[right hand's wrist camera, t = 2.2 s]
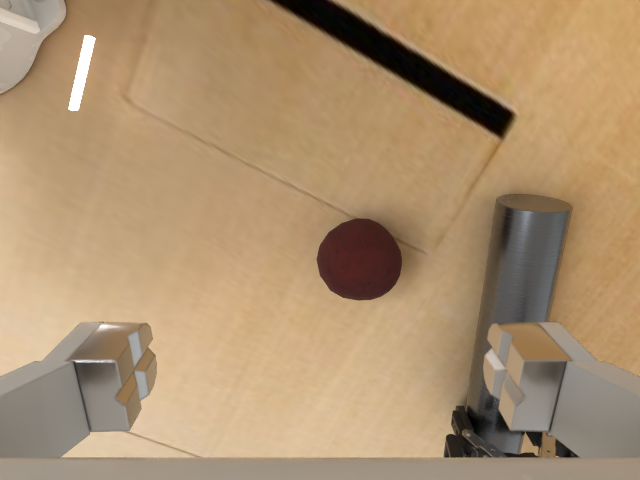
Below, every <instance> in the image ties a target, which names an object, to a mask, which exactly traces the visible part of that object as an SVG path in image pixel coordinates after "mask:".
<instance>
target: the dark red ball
mask: <svg viewBox="0 0 640 480" xmlns="http://www.w3.org/2000/svg"><path fill="white" fill-rule="evenodd" d="M317 263H318V268H319V272H320V276H321V277H322V279H323V280H324V282H325V283H326V285H327V286H328V288H329V289H330V290H331V291H332V292H334V293H336V294H338V295H339V296H341V297H343V298H348V299H354V300H372V299H375V298H378V297H381V296H382V295H384V294H386V293H387V292H389V291H390V290H391V289H392V287H393V286H394V285H395V284H396V282H397V280H398V278H399V276H400V271H401V266H402V258H401V252H400V249H399V247H398V245H397V243H396V241H395V240H394V238H393V237H392V236H391V234H390V233H389V232H388V231H387V230H386V229H385V228H384V227H383V226H381V225H380V224H379V223H377V222H374V221H372V220H370V219H354V220H351V221H347V222H344V223H342V224H340V225H339V226H337V227H336V228H334V229H333V230H332V231H330V232H329V233H328V234H327V236H326V237H325V239H324V240H323V242H322V243H321V245H320V247H319V251H318V256H317Z"/></svg>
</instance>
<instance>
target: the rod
mask: <svg viewBox="0 0 640 480" xmlns="http://www.w3.org/2000/svg"><path fill="white" fill-rule="evenodd" d="M571 213H572V206H571V205H570V204H568V203H566V202H564V201H561V200H558V199H554V198H550V197H544V196H537V195H525V194H513V195H504V196H500V197H498V198H497V199H496V205H495V212H494V219H493V225H492V232H491V239H490V246H489V253H488V259H487V266H486V273H485V280H484V286H483V293H482V300H481V307H480V313H479V320H478V327H477V334H476V340H475V347H474V354H473V361H472V368H471V374H470V381H469V388H468V395H467V401H466V408H465V410H466V413H467V415H468V417H469V420H470V422H471V424H472V427H473V429H474V431H473V432H474V433H475V434H476V435H477V436H478V437H479V438H481V439H482V440H483V441H484V442H490V443H492V444H493V445H494V446H495V447H496V448H498V449H499V450H500V451H501V452H502V453H514V454H520V453H521V448H522V443H523V439H524V434H525V431H510V429H509V427H508V425H507V424H506V422H505V420H504V418H503V416H502V415H501V413H500V411H499V409H498V408H499V402H500V401H499V400H498V399H496V398H495V397H493V396H492V395H491V394H490V392H489V390H488V389H487V386H486V383H485V380H484V371H483V364H484V356H485V354H486V353H487V352H488V351H489V350H490V349H491V348H492V346H491V344H490V343H489V341H488V340H487V337H488V331H489V328H490V326H491V324H494V323H527V322H548V321H549V316H550V312H551V307H552V302H553V298H554V293H555V288H556V284H557V279H558V274H559V269H560V265H561V260H562V255H563V251H564V246H565V241H566V237H567V232H568V227H569V223H570V218H571ZM474 450H475V449H474ZM475 451H476V450H475Z"/></svg>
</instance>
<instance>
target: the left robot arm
mask: <svg viewBox="0 0 640 480" xmlns="http://www.w3.org/2000/svg"><path fill="white" fill-rule="evenodd" d="M451 425H452V428H453V430H454V433H455V435H453V434H449V435H447V436H446V442H445V450H444V458H464V457H465V458H555V455H556V456H559V457H560V458H580V457H579V456H577V455H576V454H575V453H574V452H572V451H571V450H570V449H569V448H567V447H566V446H565V445H563V444H562V443H561V442H560V441H558V440H557V439H556V438H555V437H553V436H552V435H551V434H550V432H530V431H525V432H526V434H527V435H528V437H529V439H530V441H531V442H532V444H533V446H538V447H539V449H538V456H535V454H534V453H522V454H514V453H502V452H501V451H500V450H499V449H498V448H496V447H495V446H494V445H493V444H492V443H490V442H484V441H483V440H482V439H481V438H479V437H478V436H477V435H476V434H475V433H474V432H473V431H474V429H473V427H472V424H471V422H470V420H469V417H468V415H467V413H466V410H465V408H464V406H456V411H453V414H452V421H451ZM474 449H475V450H476V451H475V450H474ZM463 456H464V457H463Z"/></svg>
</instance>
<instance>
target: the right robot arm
mask: <svg viewBox="0 0 640 480" xmlns="http://www.w3.org/2000/svg"><path fill="white" fill-rule="evenodd" d="M65 17H66V5H65V2H64V0H0V94H1V93H4V92H6V91H8V90H9V89H11V88H12V87H14V86H15V85H16V84H17V83H19V82H20V81H21V80H22V79H23V77H24V76H25V75H26V74H27V72H28V71H29V69H30V68H31V66H32V64H33V62H34V60H35V57H36V55H37V52H38V50H39V47H40V45H41V43H42V42H43V40H44V38H46V37H47V36H48V35H49V34H51V33H52V32H53V31H54V30H55V29H56V28H58V27H59V26H60V24H61V23H62V22H63V21H64V19H65ZM94 41H95V38H94V37H91V36H86V35H85V38H84V43H83V47H82V52H81V56H80V60H79V65H78V69H77V74H76V78H75V83H74V87H73V91H72V96H71V100H70V105H69V109H70V110H72V111H73V110H79V105H80V101H81V97H82V92H83V88H84V84H85V80H86V75H87V71H88V67H89V62H90V58H91V54H92V50H93V45H94ZM152 340H153V337H152V332H151V327H150V326H149V325H148V324H147V323H130V322H83V323H80V324H79V325H78V326H77V327H76V328H75V329H74V330H73V331H72V332H71V333H70V334H69V335H68V336H67V337H66V338H65V339H64V340H63V341H62V342H61V343H60V344H59V345H58V346H57V347H56V348H55V349H54V350H53V351H52V352H51V353H50V354H49V355H48V356H47V357H45V358H44V359H43V360H42V361H34V362H32V363H30V364H27V365H25V366H23V367H21V368H18V369H16V370H14V371H12V372H9V373H7V374H5V375H3V376H0V480H640V376H637V375H635V374H633V373H631V372H628V371H626V370H624V369H622V368H619V367H617V366H615V365H613V364H610V363H608V362H606V361H598V360H597V359H596V358H595V357H594V356H593V355H592V354H591V353H590V352H589V351H588V350H587V349H586V348H585V347H584V346H583V345H582V344H581V343H580V342H579V341H578V340H577V339H576V338H575V337H574V336H573V335H572V334H571V333H570V332H569V331H568V330H567V329H566V328H565V327H564V326H563V325H562V324H560V323H558V322H527V323H494V324H491V326H490V328H489V331H488V337H487V340H488V341H489V343H490V344H491V346H492V348H491V349H490V350H489V351H488V352H487V353H486V354H485V356H484V364H483V371H484V380H485V383H486V386H487V389H488V390H489V392H490V394H491V395H492V396H493V397H495V398H496V399H498V400H499V401H500V402H499V408H498V409H499V411H500V413H501V415H502V416H503V418H504V420H505V422H506V424H507V425H508V427H509V429H510V431H530V432H550V434H551V435H552V436H553V437H555V438H556V439H557V440H558V441H560V442H561V443H562V444H563V445H565V446H566V447H567V448H569V449H570V450H571V451H572V452H574V453H575V454H576V455H577V456H579V457H580V458H60V457H61V456H63V455H64V454H65V453H66V452H68V451H69V450H70V449H72V448H73V447H74V446H75V445H77V444H78V443H79V442H81V441H82V440H83V439H84V438H86V437H87V436H88V435H89V434H90V432H110V431H130V429H131V427H132V425H133V424H134V422H135V420H136V418H137V416H138V415H139V413H140V411H141V409H142V408H141V402H140V401H141V400H142V399H144V398H145V397H147V396H148V395H149V394H150V392H151V390H152V388H153V386H154V383H155V378H156V374H157V363H156V356H155V354H154V353H153V352H152V351H151V350H150V349H149V348H148V346H149V344H150V343H151V341H152Z"/></svg>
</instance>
